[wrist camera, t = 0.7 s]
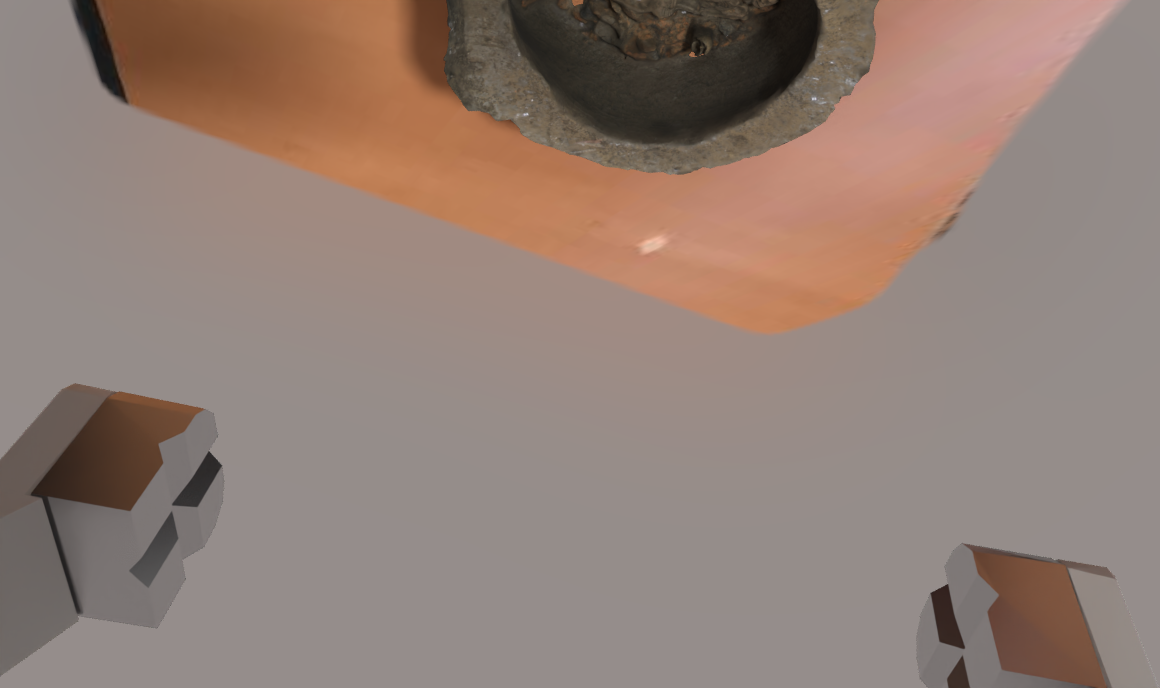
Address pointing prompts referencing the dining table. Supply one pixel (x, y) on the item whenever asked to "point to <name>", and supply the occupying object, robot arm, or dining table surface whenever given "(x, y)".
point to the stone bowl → (659, 73)
